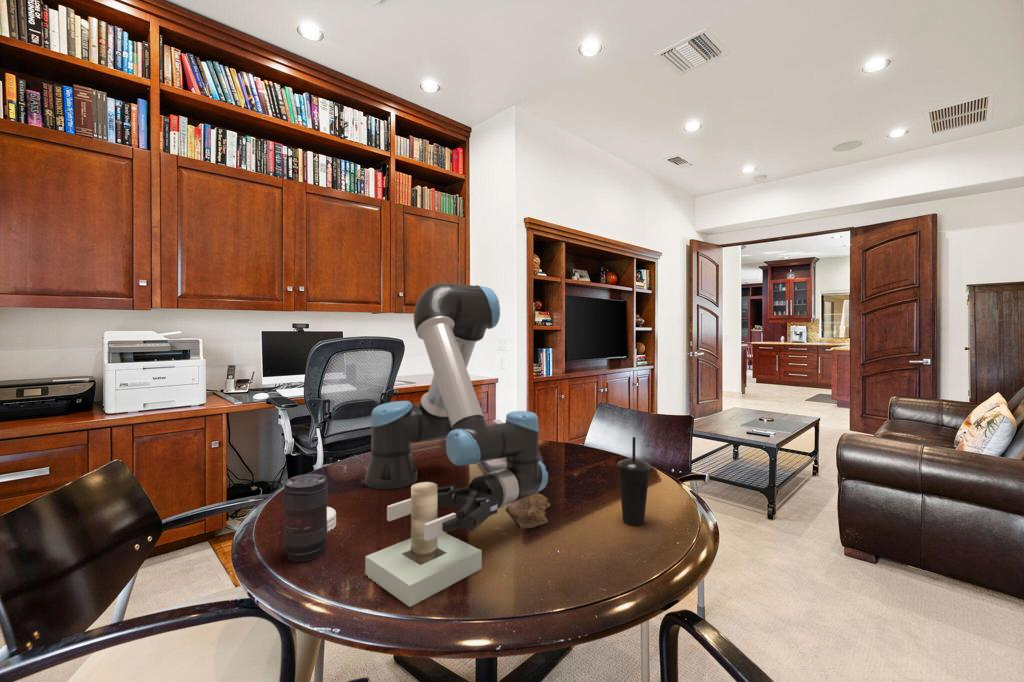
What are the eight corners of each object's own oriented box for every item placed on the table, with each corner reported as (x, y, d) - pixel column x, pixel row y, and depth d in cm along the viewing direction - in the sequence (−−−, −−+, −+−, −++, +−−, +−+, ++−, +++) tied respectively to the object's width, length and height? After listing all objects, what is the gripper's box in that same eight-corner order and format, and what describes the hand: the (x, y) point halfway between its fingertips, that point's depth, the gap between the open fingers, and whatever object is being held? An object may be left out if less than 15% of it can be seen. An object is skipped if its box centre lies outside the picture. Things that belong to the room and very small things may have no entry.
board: (365, 575, 81) (365, 556, 81) (435, 544, 93) (435, 528, 93) (409, 607, 72) (409, 585, 72) (481, 568, 84) (481, 550, 84)
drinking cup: (650, 517, 107) (651, 435, 107) (649, 530, 100) (650, 442, 100) (618, 513, 110) (619, 432, 109) (615, 525, 102) (615, 439, 102)
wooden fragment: (547, 531, 100) (547, 526, 100) (499, 528, 102) (499, 524, 102) (552, 491, 126) (552, 488, 126) (514, 490, 127) (514, 486, 127)
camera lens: (282, 567, 84) (281, 488, 84) (285, 548, 91) (284, 476, 91) (328, 559, 87) (328, 483, 87) (327, 541, 94) (327, 471, 94)
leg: (405, 572, 82) (405, 486, 82) (427, 562, 86) (427, 480, 86) (421, 582, 79) (421, 493, 79) (443, 571, 83) (443, 486, 82)
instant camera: (477, 461, 155) (477, 418, 154) (536, 460, 157) (536, 417, 157) (480, 481, 134) (480, 432, 133) (547, 479, 136) (548, 430, 136)
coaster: (288, 543, 94) (288, 526, 94) (287, 525, 103) (287, 509, 103) (338, 533, 99) (338, 517, 99) (333, 516, 108) (333, 502, 108)
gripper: (534, 523, 88) (447, 566, 71) (457, 494, 103) (371, 524, 87) (534, 486, 88) (447, 520, 71) (457, 462, 103) (371, 486, 87)
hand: (405, 522), depth 79 cm, fingers open, 11 cm apart
